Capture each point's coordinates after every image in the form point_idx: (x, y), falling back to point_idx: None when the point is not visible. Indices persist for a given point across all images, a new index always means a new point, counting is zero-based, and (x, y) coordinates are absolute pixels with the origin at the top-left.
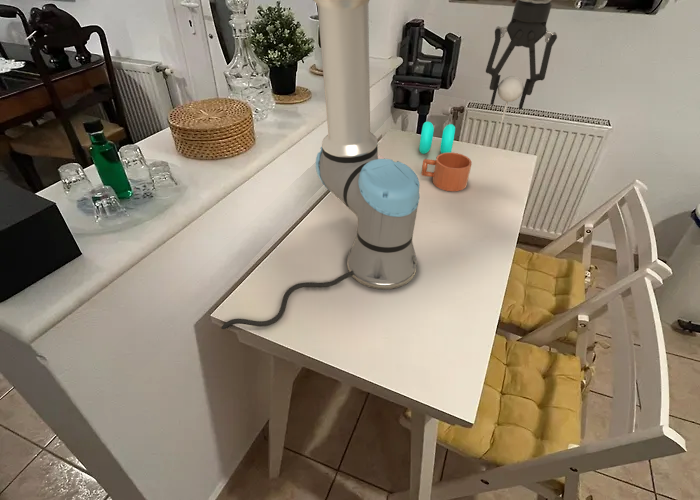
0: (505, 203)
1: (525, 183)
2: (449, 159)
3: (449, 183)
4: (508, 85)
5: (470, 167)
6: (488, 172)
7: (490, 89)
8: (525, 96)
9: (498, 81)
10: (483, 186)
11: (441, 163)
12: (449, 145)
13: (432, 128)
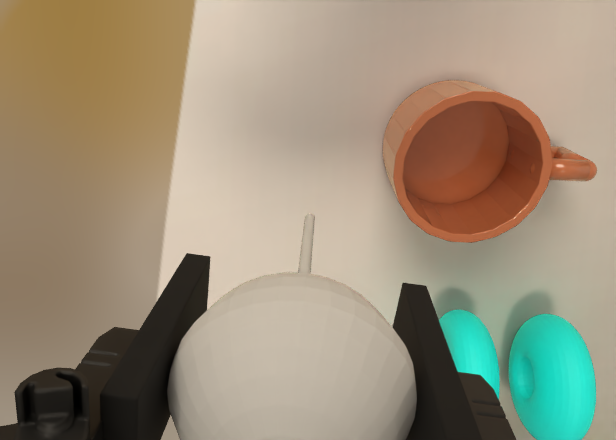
0: (243, 39)
1: (168, 202)
2: (471, 222)
3: (467, 83)
4: (338, 347)
5: (396, 146)
6: (296, 250)
7: (475, 374)
8: (156, 304)
9: (446, 413)
10: (319, 146)
11: (499, 203)
12: (464, 325)
13: (551, 399)
